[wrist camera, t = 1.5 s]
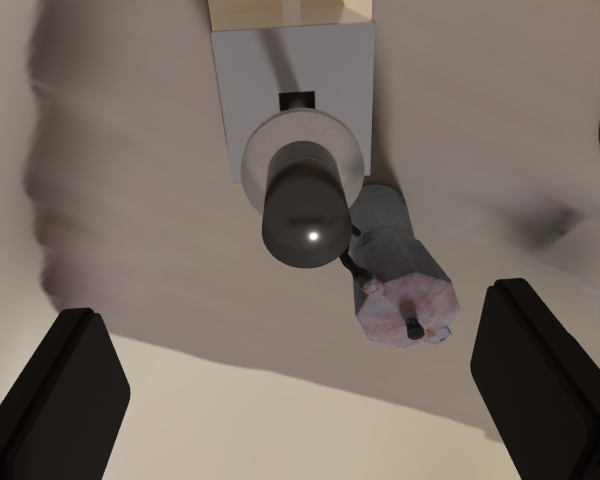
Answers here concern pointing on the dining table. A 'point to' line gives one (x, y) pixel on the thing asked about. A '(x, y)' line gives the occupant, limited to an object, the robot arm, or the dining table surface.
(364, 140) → the white box
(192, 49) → the dining table surface
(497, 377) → the robot arm
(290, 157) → the plunger
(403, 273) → the moka pot
